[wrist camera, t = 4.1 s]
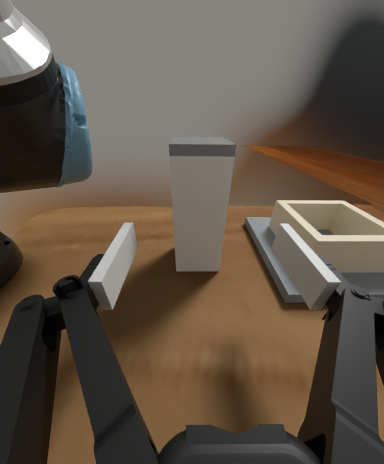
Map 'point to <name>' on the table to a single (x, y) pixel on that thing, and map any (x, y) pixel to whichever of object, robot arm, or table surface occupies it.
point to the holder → (325, 242)
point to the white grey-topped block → (200, 199)
